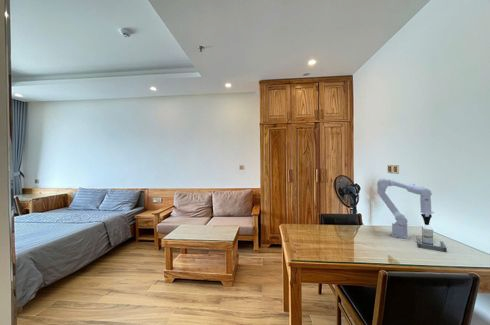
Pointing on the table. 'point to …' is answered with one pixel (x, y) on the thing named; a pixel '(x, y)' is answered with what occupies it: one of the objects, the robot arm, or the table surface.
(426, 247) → the bay
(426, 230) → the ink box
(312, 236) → the table surface
